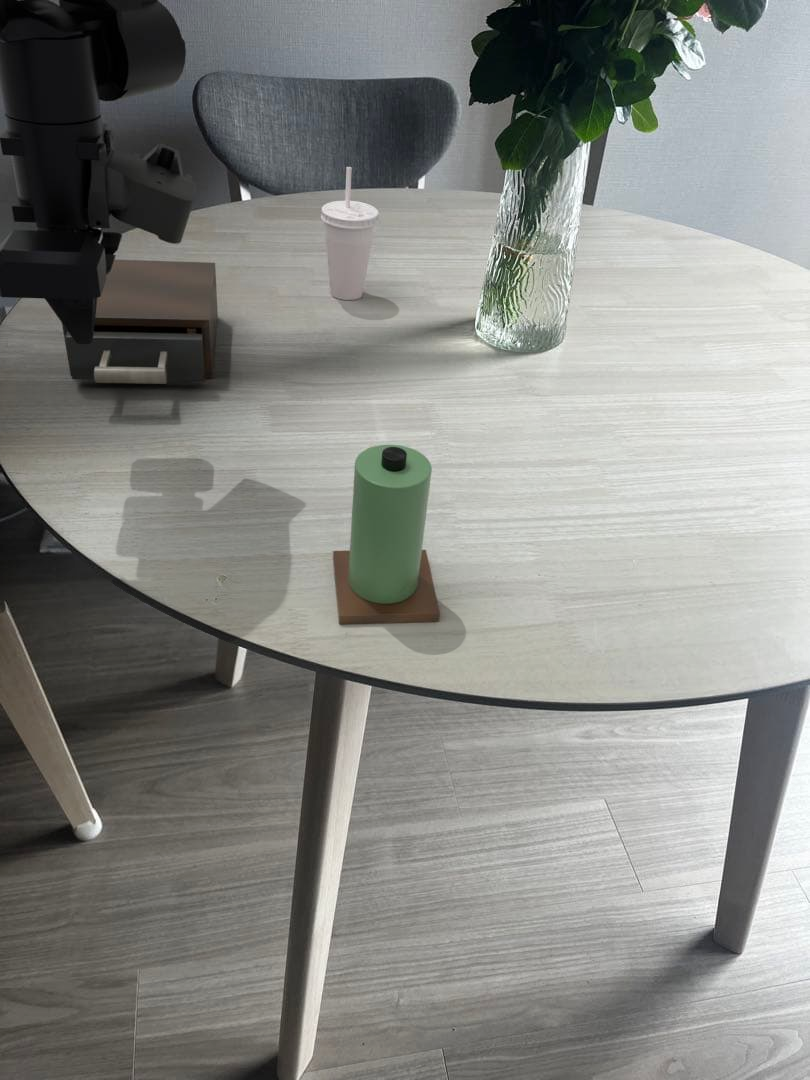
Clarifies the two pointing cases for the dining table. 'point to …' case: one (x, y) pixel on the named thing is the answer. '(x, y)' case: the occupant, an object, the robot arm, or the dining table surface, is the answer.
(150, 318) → the cabinet
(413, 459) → the green bottle
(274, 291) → the dining table surface
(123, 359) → the drawer
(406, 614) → the plate
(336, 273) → the smoothie
